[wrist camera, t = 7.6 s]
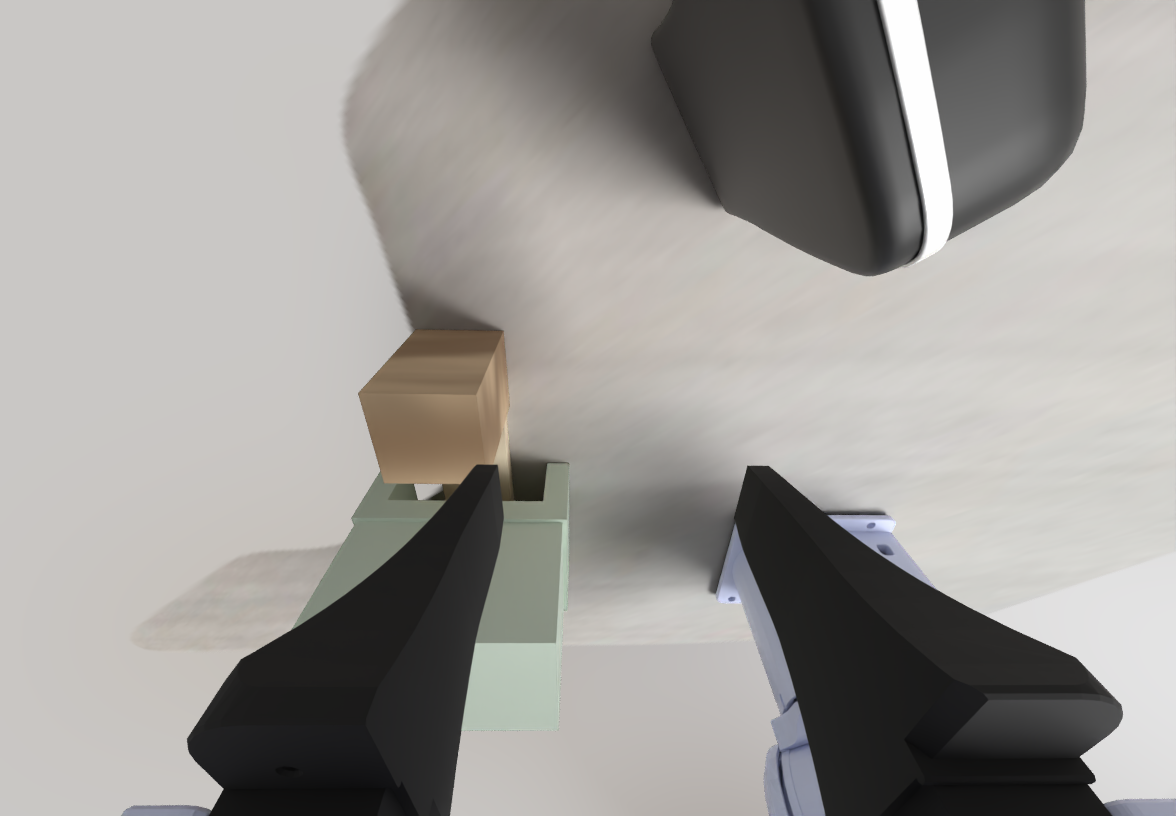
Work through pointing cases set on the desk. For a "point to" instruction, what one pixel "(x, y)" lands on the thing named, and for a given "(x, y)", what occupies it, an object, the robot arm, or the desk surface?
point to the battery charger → (876, 114)
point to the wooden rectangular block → (441, 409)
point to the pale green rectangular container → (513, 605)
